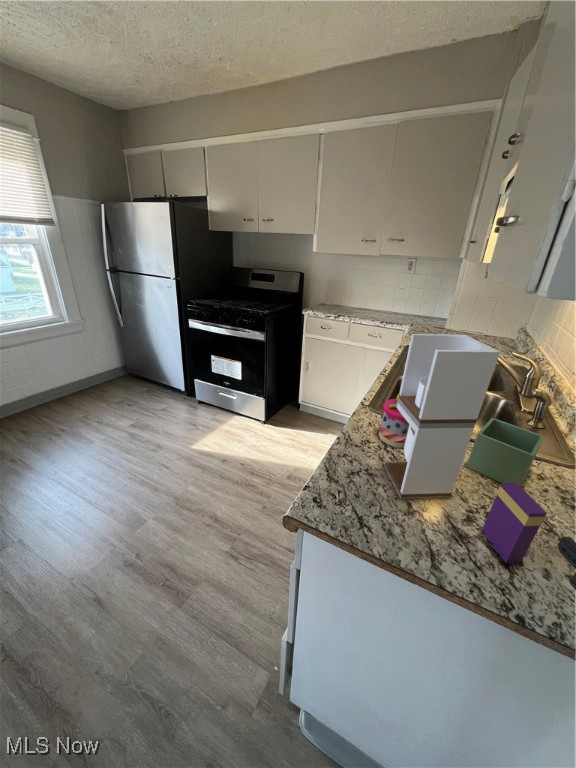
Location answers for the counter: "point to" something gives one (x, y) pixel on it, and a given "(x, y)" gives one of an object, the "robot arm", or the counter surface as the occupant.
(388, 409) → the cake
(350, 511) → the counter surface
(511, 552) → the chocolate bar
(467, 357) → the display case
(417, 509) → the counter surface
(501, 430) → the waste bin
